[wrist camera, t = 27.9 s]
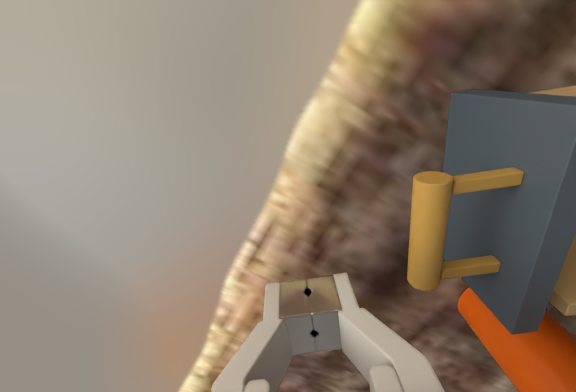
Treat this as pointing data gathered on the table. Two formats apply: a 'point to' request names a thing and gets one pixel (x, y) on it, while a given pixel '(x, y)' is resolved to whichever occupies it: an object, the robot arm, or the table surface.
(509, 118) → the drawer
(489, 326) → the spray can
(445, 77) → the table surface
